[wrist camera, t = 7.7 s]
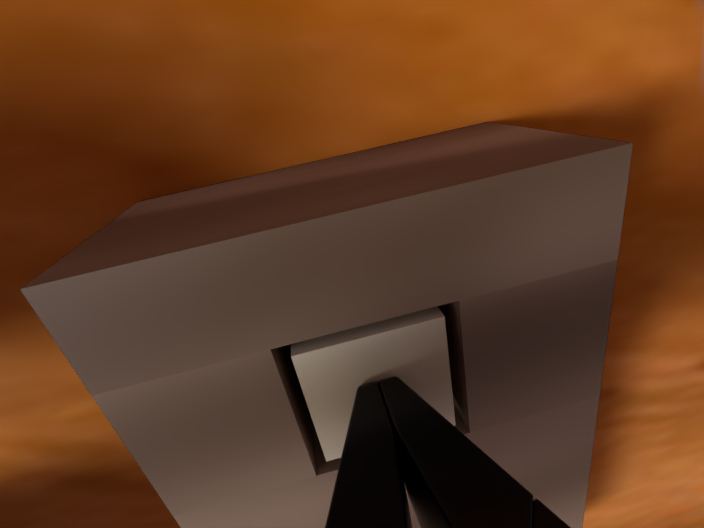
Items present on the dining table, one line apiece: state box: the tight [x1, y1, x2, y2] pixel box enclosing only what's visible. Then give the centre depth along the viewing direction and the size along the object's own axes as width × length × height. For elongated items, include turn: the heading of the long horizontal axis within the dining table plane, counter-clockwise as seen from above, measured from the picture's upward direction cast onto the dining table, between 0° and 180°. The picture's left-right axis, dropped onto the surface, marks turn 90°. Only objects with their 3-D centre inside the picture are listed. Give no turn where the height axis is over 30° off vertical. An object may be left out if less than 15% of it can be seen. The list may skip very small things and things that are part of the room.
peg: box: [291, 306, 456, 462], centre depth 10 cm, size 3×3×4 cm
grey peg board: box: [20, 122, 633, 528], centre depth 13 cm, size 20×10×5 cm, turn 11°
